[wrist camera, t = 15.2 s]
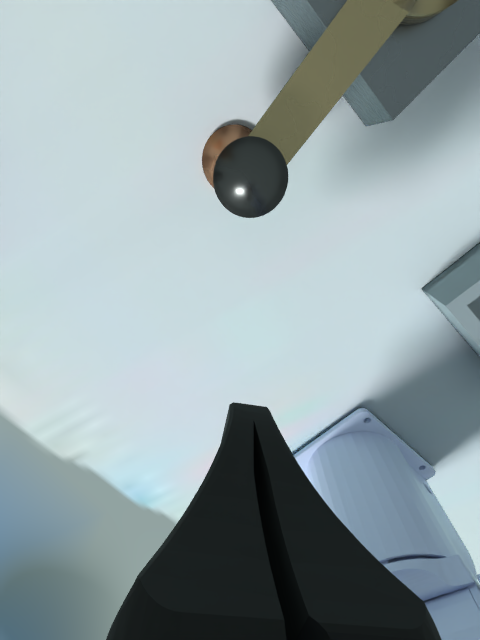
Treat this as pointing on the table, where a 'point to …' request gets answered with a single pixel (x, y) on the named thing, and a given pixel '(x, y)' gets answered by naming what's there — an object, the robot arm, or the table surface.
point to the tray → (460, 296)
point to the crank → (309, 101)
